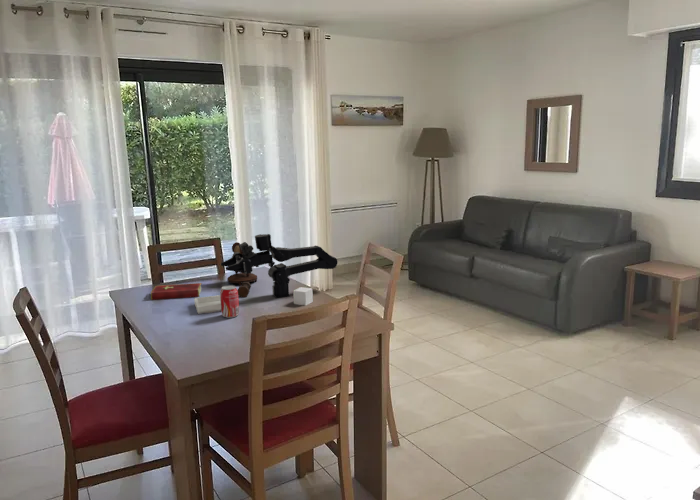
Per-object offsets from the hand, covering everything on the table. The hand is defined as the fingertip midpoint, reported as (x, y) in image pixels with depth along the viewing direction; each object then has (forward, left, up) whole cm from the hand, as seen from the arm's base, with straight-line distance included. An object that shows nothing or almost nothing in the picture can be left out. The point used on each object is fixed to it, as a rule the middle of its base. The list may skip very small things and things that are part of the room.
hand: (223, 266), depth 228 cm
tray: (+5, +3, -17) cm, 17 cm away
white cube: (-31, +13, -17) cm, 38 cm away
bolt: (-11, -14, -17) cm, 25 cm away
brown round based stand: (-13, -34, -17) cm, 40 cm away
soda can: (+1, +18, -17) cm, 25 cm away
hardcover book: (+19, -24, -17) cm, 35 cm away
